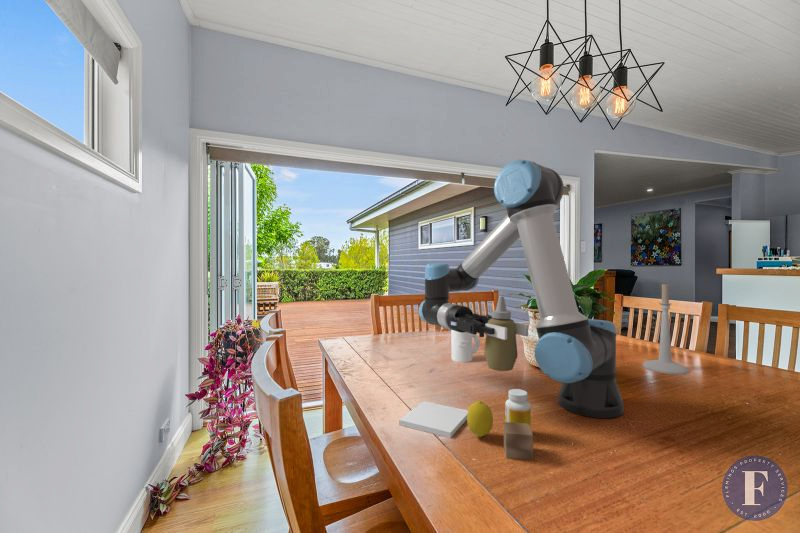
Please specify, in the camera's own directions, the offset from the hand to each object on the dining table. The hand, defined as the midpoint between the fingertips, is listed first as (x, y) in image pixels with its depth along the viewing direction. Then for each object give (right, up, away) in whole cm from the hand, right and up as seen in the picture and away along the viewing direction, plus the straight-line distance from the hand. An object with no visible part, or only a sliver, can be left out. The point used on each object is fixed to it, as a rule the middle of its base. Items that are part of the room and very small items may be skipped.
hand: (516, 332), depth 87 cm
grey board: (-19, -22, +2) cm, 29 cm away
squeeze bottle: (-3, -10, +5) cm, 11 cm away
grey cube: (-4, -22, -13) cm, 26 cm away
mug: (-2, -21, +55) cm, 59 cm away
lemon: (-10, -22, -7) cm, 25 cm away
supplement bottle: (-2, -22, -6) cm, 23 cm away
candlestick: (+65, -20, +41) cm, 79 cm away
